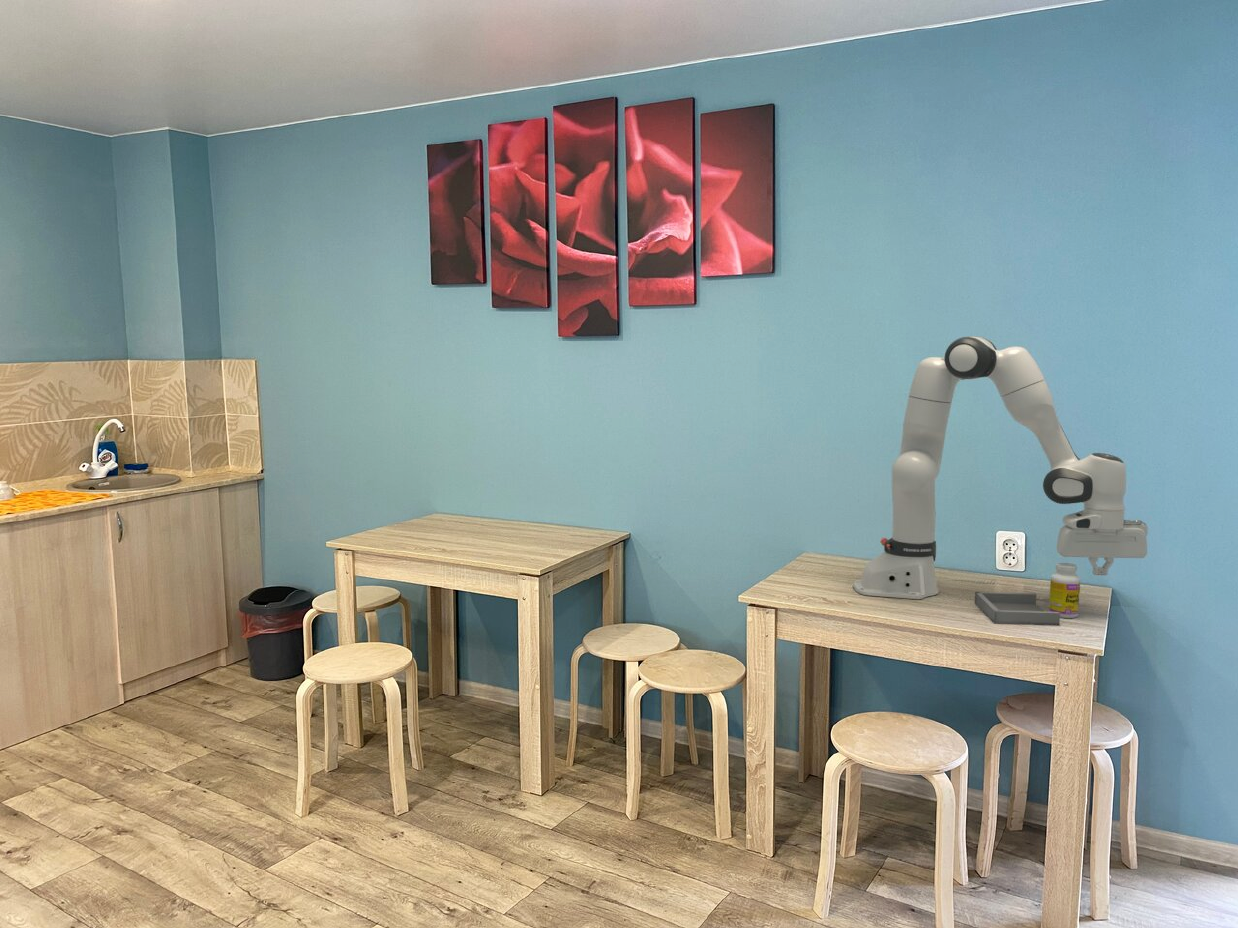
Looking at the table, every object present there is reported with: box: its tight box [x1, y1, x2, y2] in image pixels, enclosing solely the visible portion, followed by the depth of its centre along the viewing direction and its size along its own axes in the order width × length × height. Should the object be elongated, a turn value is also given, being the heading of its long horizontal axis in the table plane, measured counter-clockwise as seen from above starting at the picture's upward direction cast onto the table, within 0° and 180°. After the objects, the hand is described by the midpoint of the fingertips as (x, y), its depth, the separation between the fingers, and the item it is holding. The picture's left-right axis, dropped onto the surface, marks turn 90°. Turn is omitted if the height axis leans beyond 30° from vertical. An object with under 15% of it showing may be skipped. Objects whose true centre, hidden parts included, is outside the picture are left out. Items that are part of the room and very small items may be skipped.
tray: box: [974, 591, 1061, 626], centre depth 233 cm, size 15×18×3 cm
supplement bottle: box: [1048, 562, 1081, 619], centre depth 231 cm, size 7×7×13 cm
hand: (1100, 574), depth 230 cm, fingers closed
